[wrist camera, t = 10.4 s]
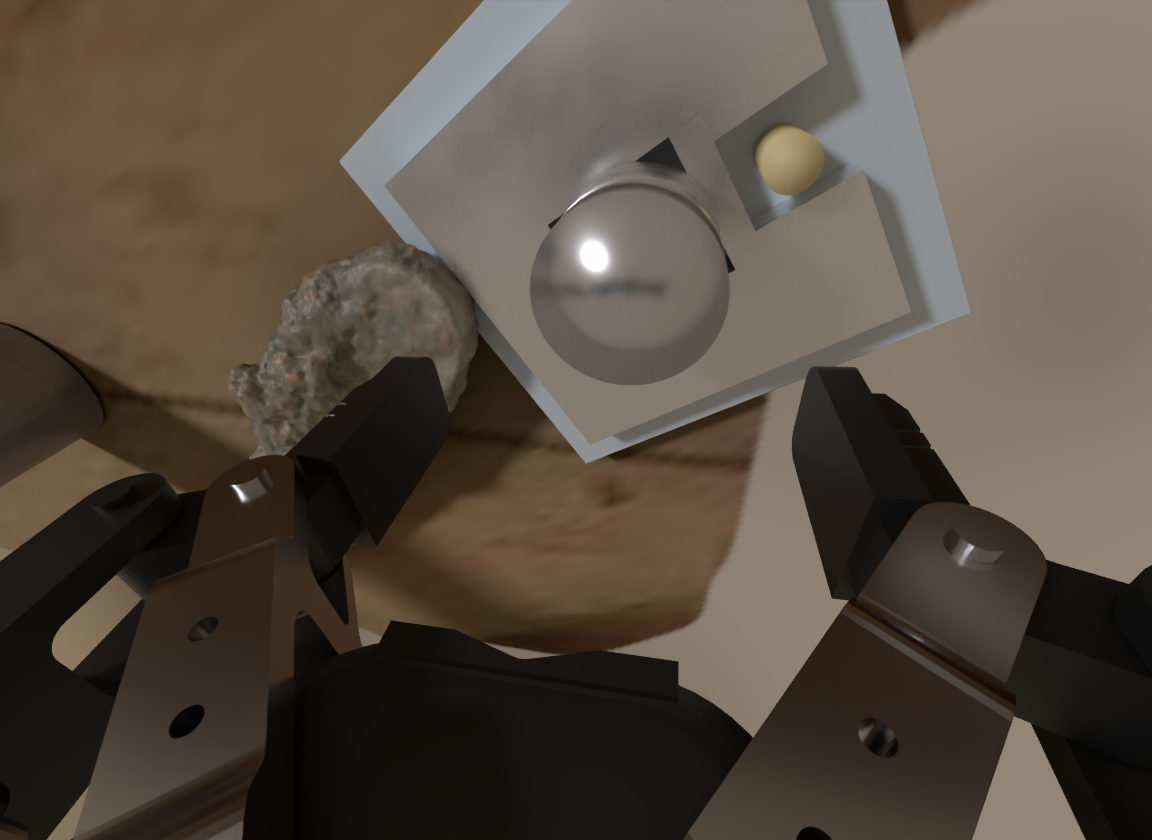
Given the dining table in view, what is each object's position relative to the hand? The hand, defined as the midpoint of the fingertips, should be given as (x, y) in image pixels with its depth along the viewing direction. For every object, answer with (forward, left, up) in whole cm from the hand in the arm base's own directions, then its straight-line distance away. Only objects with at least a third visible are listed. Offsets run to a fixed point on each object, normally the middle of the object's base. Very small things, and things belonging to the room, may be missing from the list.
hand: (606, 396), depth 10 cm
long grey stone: (-24, -1, -12) cm, 26 cm away
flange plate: (0, 0, -11) cm, 11 cm away
